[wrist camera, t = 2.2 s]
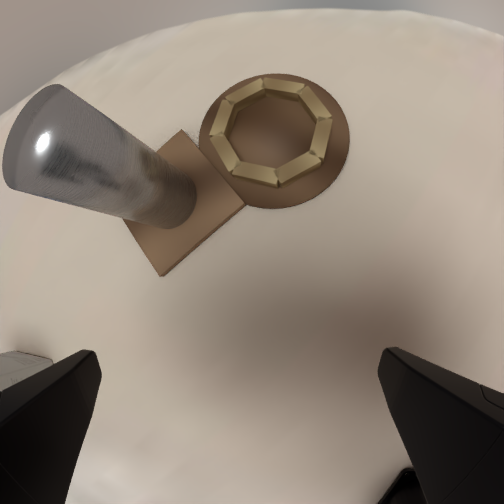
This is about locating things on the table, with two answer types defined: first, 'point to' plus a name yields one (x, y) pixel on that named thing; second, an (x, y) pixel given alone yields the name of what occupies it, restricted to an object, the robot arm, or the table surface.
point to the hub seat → (275, 139)
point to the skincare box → (19, 367)
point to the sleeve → (92, 163)
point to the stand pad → (202, 218)
